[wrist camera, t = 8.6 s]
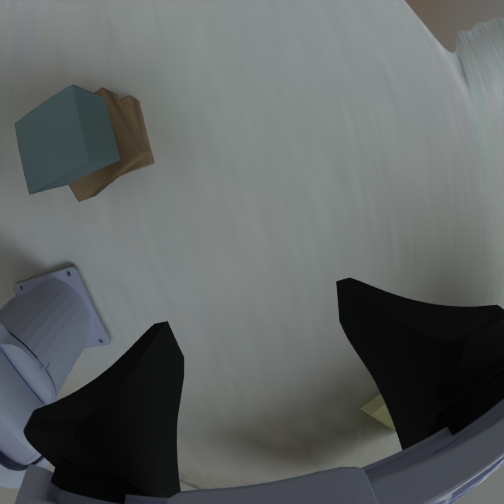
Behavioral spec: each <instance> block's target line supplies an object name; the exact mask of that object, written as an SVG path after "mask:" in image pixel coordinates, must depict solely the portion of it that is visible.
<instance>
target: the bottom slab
mask: <svg viewBox="0 0 504 504" xmlns="http://www.w3.org/2000/svg"><path fill="white" fill-rule="evenodd" d="M120 101H121V103H122V104H123V106H124V108H125V109H126V111H127V113H128V115H129V116H130V118H131V120H132V121H133V123H134V125H135V126H136V128H137V129H138V131H139V133H140V134H141V136H142V138H143V139H144V141H145V143H146V144H147V146H148V147H149V149H150V151H151V147H150V143H149V139H148V135H147V131H146V127H145V123H144V119H143V115H142V111H141V106H140V102H139V100H137V99H135V98H134V97H132V96H130V95H129V96H127V97H124V98H122V99H120ZM154 163H155V162H154V159H153V155H152V151H151V153H150V154H149V155H147V156H146V157H144V158H143V159H142V160H140V161H139V162H137V163H136V164H135V165H133V166H132V167H131V168H129V169H128V170H127V171H126V172H124V173H123V174H122V175H124V174H126V173H129V172H131V171H134V170H137V169H140V168H142V167H145V166H148V165H151V164H154ZM120 176H121V175H120Z"/></svg>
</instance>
